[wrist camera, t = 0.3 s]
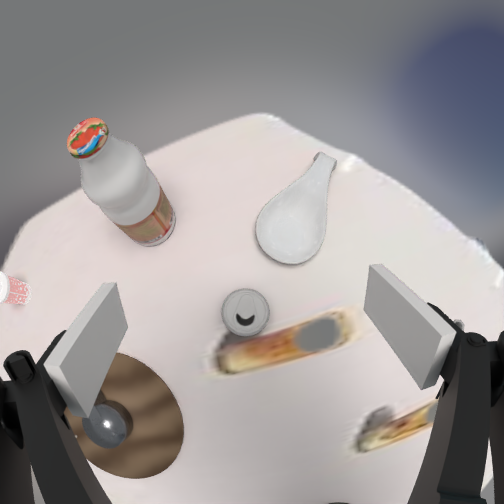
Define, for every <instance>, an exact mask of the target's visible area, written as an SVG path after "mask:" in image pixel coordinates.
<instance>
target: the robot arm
mask: <svg viewBox="0 0 504 504" xmlns="http://www.w3.org/2000/svg"><path fill="white" fill-rule="evenodd" d="M364 311H365V313H366V314H367V315H368V317H369V318H370V319H371V321H372V322H373V323H374V325H375V326H376V327H377V329H378V330H379V331H380V333H381V334H382V335H383V337H384V338H385V340H386V341H387V342H388V344H389V345H390V346H391V348H392V349H393V351H394V352H395V353H396V355H397V356H398V358H399V359H400V360H401V362H402V363H403V365H404V366H405V367H406V369H407V370H408V372H409V373H410V375H411V376H412V378H413V379H414V380H415V382H416V383H417V385H418V386H419V388H420V389H421V390H423V389H426V388H428V387H431V386H434V385H435V384H436V382H437V380H438V378H439V375H441V376H442V377H443V379H444V382H443V384H442V386H441V388H440V390H439V392H438V394H437V396H436V398H435V399H438V397H439V401H438V406H437V411H436V415H435V420H434V424H433V428H432V432H431V436H430V439H429V443H428V446H427V450H426V453H425V456H424V460H423V463H422V466H421V469H420V472H419V475H418V477H417V480H416V483H415V486H414V488H413V491H412V493H411V496H410V498H409V501H408V503H407V504H487V502H486V500H485V499H483V498H481V497H480V492H481V487H482V482H483V477H484V471H485V464H486V458H487V450H488V440H490V447H491V455H492V464H493V476H494V493H495V504H504V331H503V332H501V334H500V336H499V338H498V341H490V342H488V341H487V340H486V339H485V337H483V336H482V335H480V334H477V333H473V332H469V333H465V332H464V331H463V330H462V329H461V328H459V327H458V326H457V325H456V324H455V323H454V322H453V321H452V320H451V319H449V317H448V316H447V315H446V314H444V313H443V312H442V311H441V310H440V309H439V308H438V307H436V306H434V305H433V304H431V303H426V302H425V301H424V300H422V299H421V298H420V297H419V296H418V295H417V294H416V293H415V292H414V291H413V290H411V289H410V288H409V287H408V286H407V285H406V284H405V283H404V282H402V281H401V280H400V279H399V278H398V277H397V276H396V275H394V274H393V273H392V272H391V271H390V270H389V269H387V268H386V267H385V266H384V265H383V264H374V265H369V274H368V282H367V290H366V297H365V304H364ZM127 329H128V325H127V322H126V318H125V315H124V311H123V307H122V304H121V300H120V296H119V292H118V288H117V284H116V283H103V284H102V285H101V287H100V288H99V289H98V290H97V292H96V293H95V294H94V295H93V297H92V298H91V299H90V301H89V302H88V303H87V304H86V306H85V307H84V308H83V310H82V311H81V312H80V314H79V315H78V316H77V318H76V319H75V320H74V322H73V323H72V324H71V326H70V327H69V328H68V330H64V331H62V332H61V333H60V334H59V335H57V336H56V337H55V339H54V340H53V341H52V343H51V345H49V347H48V348H47V350H46V351H45V352H44V354H43V355H42V357H41V358H40V359H39V361H38V362H37V364H35V362H34V360H33V358H32V356H31V354H30V353H29V352H28V351H26V350H20V351H16V352H14V353H12V354H10V355H9V356H8V357H7V358H6V360H5V361H4V365H3V366H4V368H5V370H6V372H7V373H8V375H9V377H10V379H11V381H3V380H2V379H1V377H0V504H35V502H34V495H33V487H32V477H31V465H32V468H33V472H34V474H35V477H36V480H37V483H38V486H39V488H40V491H41V494H42V496H43V499H44V501H45V503H46V504H112V503H111V501H110V500H109V498H108V496H107V495H106V493H105V492H104V490H103V488H102V487H101V485H100V483H99V482H98V480H97V478H96V476H95V475H94V473H93V471H92V469H91V467H90V465H89V463H88V462H87V460H86V458H85V456H84V454H83V452H82V450H81V448H80V446H79V443H78V441H77V439H76V437H75V435H74V433H73V430H72V428H71V426H70V423H69V421H68V419H67V417H66V415H65V414H64V411H65V409H66V407H68V409H69V410H70V412H71V413H72V415H73V416H78V417H84V418H89V415H90V413H91V410H92V408H93V405H94V403H95V400H96V398H97V395H98V393H99V391H100V388H101V386H102V384H103V381H104V379H105V377H106V374H107V372H108V370H109V368H110V365H111V363H112V361H113V359H114V356H115V354H116V352H117V350H118V348H119V346H120V343H121V341H122V339H123V337H124V335H125V333H126V331H127ZM30 462H31V463H30ZM331 504H347V503H331Z"/></svg>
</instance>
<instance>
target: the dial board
mask: <svg viewBox="0 0 504 504" xmlns="http://www.w3.org/2000/svg"><path fill="white" fill-rule="evenodd" d="M100 389H101V391H102V393H103V394H104V396H105V398H106V399H107V400H112V401H115V402H117V403H119V404H121V405H122V406H124V407H125V408H126V410H127V411H128V412H129V414H130V415H131V418H132V421H133V430H132V433H131V434H130V436H129V437H128V438H126V439H125V440H124V441H123V442H122V443H121V444H120V445H119V446H117V447H115V448H111V449H107V448H103V447H100V446H98V445H96V444H95V443H94V442H92V441H91V440H90V438H89V437H88V436H87V435H86V433H85V431H84V428H83V425H82V417H78V416H73V415H72V413H71V412H70V410H69V409H68V407H66V409H65V411H64V414H65V415H66V417H67V419H68V421H69V423H70V426H71V428H72V430H73V433H74V435H75V437H76V439H77V441H78V443H79V446H80V448H81V450H82V452H83V454H84V456H85V458H86V459H87V460H89V461H90V462H91V463H92V464H94V465H95V466H97V467H98V468H100V469H102V470H104V471H106V472H108V473H111V474H113V475H116V476H120V477H124V478H131V479H140V478H147V477H151V476H154V475H157V474H159V473H161V472H162V471H164V470H165V469H167V468H168V467H169V466H170V465H171V464H172V463H173V461H174V460H175V459H176V457H177V455H178V453H179V451H180V449H181V445H182V442H183V435H184V430H183V420H182V415H181V412H180V408H179V406H178V404H177V401H176V399H175V397H174V396H173V394H172V392H171V391H170V389H169V388H168V386H167V385H166V384H165V383H164V381H163V380H162V379H161V378H160V377H159V376H158V375H157V374H156V373H155V372H154V371H153V370H151V369H150V368H149V367H147V366H146V365H145V364H143V363H141V362H140V361H138V360H136V359H134V358H132V357H130V356H127V355H124V354H121V353H116V354H115V356H114V359H113V361H112V363H111V365H110V368H109V370H108V372H107V374H106V377H105V379H104V381H103V384H102V386H101V388H100Z"/></svg>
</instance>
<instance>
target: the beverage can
mask: <svg viewBox="0 0 504 504" xmlns="http://www.w3.org/2000/svg"><path fill="white" fill-rule="evenodd" d="M269 315H270V310H269V305H268V303H267V301H266V299H265V298H264V297H263V296H262V295H261V294H260V293H259V292H257V291H255V290H252V289H239V290H236V291H234V292H232V293H231V294H230V295H229V296H228V297H227V298H226V299H225V301H224V303H223V306H222V319H223V322H224V324H225V325H226V327H227V328H228V329H229V330H230V331H232V332H233V333H235V334H237V335H240V336H251V335H254V334H257V333H258V332H260V331H261V330H262V329H263V328H264V327H265V326H266V324H267V322H268V320H269Z"/></svg>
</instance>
